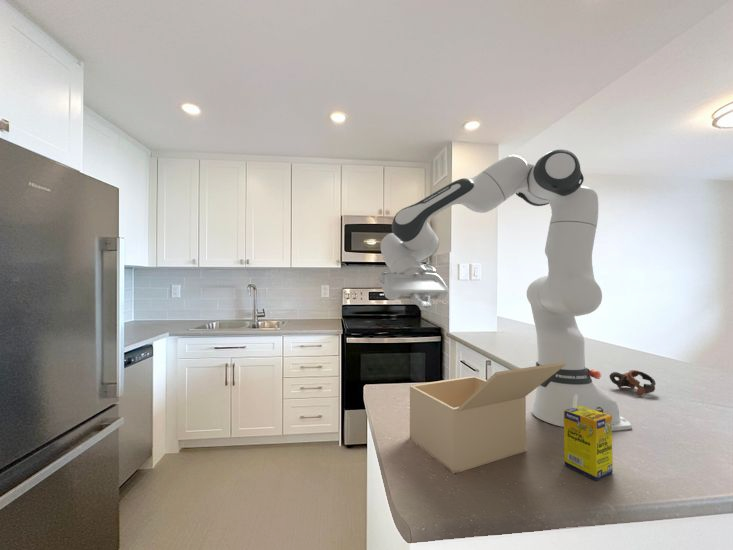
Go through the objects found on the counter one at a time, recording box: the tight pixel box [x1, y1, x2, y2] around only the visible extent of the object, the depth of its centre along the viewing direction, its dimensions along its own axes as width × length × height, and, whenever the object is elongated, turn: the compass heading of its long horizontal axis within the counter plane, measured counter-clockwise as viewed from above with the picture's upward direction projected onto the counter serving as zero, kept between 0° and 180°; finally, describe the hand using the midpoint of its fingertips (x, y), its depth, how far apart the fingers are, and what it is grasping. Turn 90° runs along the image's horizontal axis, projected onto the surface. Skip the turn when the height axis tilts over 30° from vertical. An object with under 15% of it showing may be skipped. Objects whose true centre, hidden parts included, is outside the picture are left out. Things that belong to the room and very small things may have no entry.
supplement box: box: [563, 406, 614, 481], centre depth 60 cm, size 6×6×11 cm
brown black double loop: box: [609, 369, 656, 397], centre depth 106 cm, size 12×10×8 cm
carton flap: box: [458, 362, 566, 411], centre depth 58 cm, size 18×13×1 cm
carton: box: [409, 375, 527, 475], centre depth 69 cm, size 20×16×12 cm
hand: (426, 308), depth 83 cm, fingers closed
